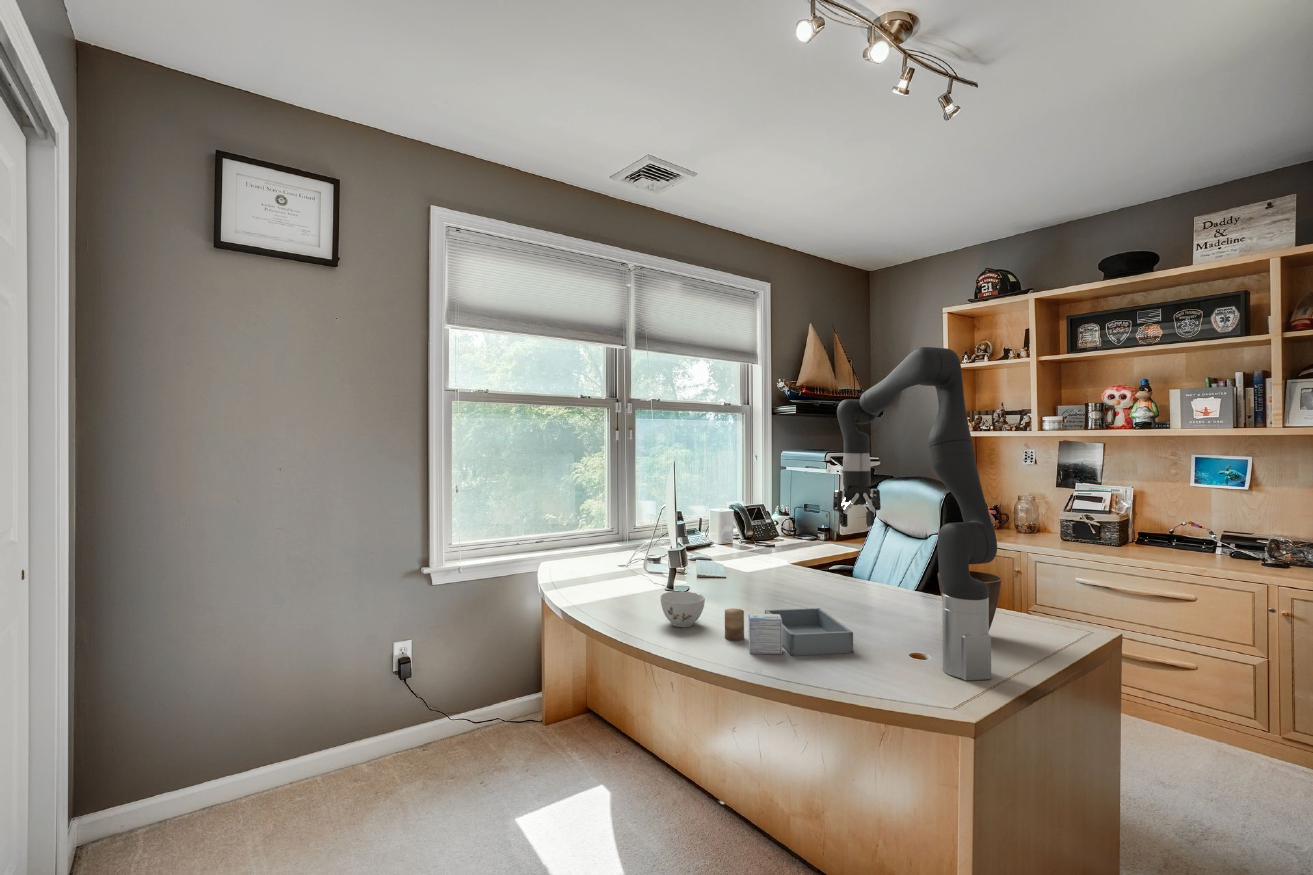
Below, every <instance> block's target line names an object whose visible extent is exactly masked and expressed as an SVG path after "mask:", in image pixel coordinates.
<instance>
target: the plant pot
mask: <svg viewBox="0 0 1313 875" xmlns="http://www.w3.org/2000/svg"><path fill="white" fill-rule="evenodd" d="M969 572H970V576H971V577H972V578H974V579H977V580H980V581H983V582H985V583H986V584H987V585H988V589H989V631H990V630H991V627H992V624H993V621H994V618H995V616H996V615H995V614H996V611H997V608H998V602H999V598H1000V592H1001V584H1002V578H1001V576H999V575H996V574H993V573H989V572H982V571H977V570H969ZM937 580H938V586H939V591H940V595H941V597H942V584H941V581H940V577H939V572H937Z"/></svg>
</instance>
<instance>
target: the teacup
mask: <svg viewBox="0 0 1313 875" xmlns="http://www.w3.org/2000/svg"><path fill="white" fill-rule="evenodd" d="M659 599H660V605H661V609H662V611H663V614H664V616H665V618H666V619H667V620H668V621H669V622H670V624H671V625H672V626H674V627H677V628H690V627H693V625H694V624H695V623H696V622H697V621H698V620H699V618H700V617H701V616H702V613H703V610H704V608H705V602H706V597H705V595H702V594H698V593H696V592H692V591H676V590H674V591H668V592H664V593H661V595H660V598H659Z"/></svg>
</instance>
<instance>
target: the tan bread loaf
mask: <svg viewBox="0 0 1313 875" xmlns="http://www.w3.org/2000/svg"><path fill="white" fill-rule="evenodd" d="M724 638H725V640H727V641H732V642H740V641H743V640H745V610H743V609H740V608H735V607H733V608H732V607H731V608H727V609H726V608H725V610H724Z"/></svg>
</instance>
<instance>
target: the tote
mask: <svg viewBox="0 0 1313 875" xmlns="http://www.w3.org/2000/svg"><path fill="white" fill-rule="evenodd" d="M764 614H780V616H781V619H782V649H784V650H785V651H786V652H787V653H788V655H790V656H793V657H794V656H811V655H813V656H814V655H833V654H834V655H836V654H838V655H839V654H853V653H854V632H853V630H851V629H850V628H848V627H846V626H845V625H843V624H842V623H841V622H840V621H838V620H837V619H835V618H834V617H833V616H832V615H831V614H828V613H827V611H824V610H823V609H822V608H820V607H813V608H811V607H810V608H809V607H808V608H790V609H789V608H784V609H764Z"/></svg>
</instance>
